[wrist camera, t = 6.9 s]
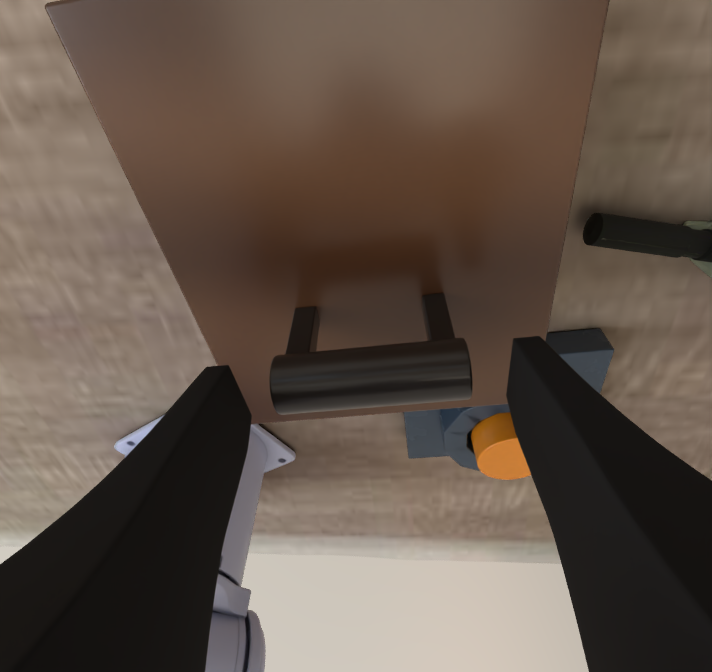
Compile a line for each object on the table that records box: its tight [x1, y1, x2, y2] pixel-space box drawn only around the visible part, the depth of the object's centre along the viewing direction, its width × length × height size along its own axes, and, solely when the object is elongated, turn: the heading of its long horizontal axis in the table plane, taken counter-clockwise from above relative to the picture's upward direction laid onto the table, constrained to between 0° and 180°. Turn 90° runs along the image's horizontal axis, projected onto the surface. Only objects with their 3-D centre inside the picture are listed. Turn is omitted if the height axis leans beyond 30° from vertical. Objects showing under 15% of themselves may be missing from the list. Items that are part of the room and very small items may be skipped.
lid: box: [45, 0, 609, 424], centre depth 11 cm, size 14×11×4 cm
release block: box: [404, 328, 614, 471], centre depth 24 cm, size 10×8×4 cm
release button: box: [471, 412, 531, 480], centre depth 22 cm, size 4×4×2 cm
